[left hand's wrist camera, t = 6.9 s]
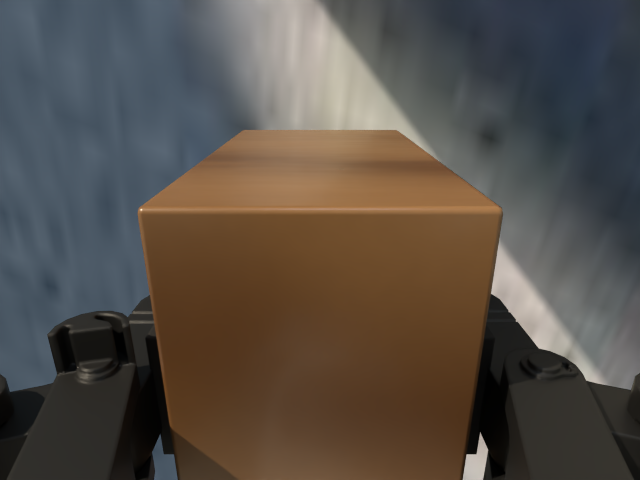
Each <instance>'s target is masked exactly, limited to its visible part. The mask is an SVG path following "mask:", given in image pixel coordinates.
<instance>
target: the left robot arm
mask: <svg viewBox="0 0 640 480" xmlns="http://www.w3.org/2000/svg"><path fill="white" fill-rule="evenodd" d="M47 335H48V339H49V343H50V347H51V351H52V355H53V359H54V363H55V367H56V371H57V376H56V378H55V380H54V382H53V383H51V384H48V385H44V386H39V387H34V388H28V389H23V390H18V391H13V392H10V391H9V388H8V384H7V381H6V378H4V377H3V376H2V375H0V480H154V475H155V468H154V461H153V455H152V451H153V449H154V446H155V444H156V442H157V440H158V437H159V435H160V433H161V439H162V446H163V452H164V454H174V450H173V444H172V437H171V430H170V424H169V417H168V411H167V404H166V397H165V391H164V384H163V378H162V371H161V364H160V358H159V351H158V345H157V338H156V331H155V325H154V318H153V312H152V305H151V298H150V295H149V296H148V297H146V298H144V299H143V300H141V301H140V303H139V304H138V305H137V306H136V308H135V309H134V310H133V312H132V314H130V315H129V317H127V316H125V315H124V314H123V313H119V312H114V311H96V312H91V313H85V314H81V315H78V316H76V317H73V318H70V319H67V320H65V321H64V322H62V323H60V324H59V325H57V326H55V327H54V328H53V329H52V330H51V331H50V332H49V333H48V334H47ZM480 432H481V434H482V437H483V439H484V441H485V443H486V446H487V448H488V455H487V461H486V467H485V473H484V478H483V480H640V373H639V374H638V375H637V376H635V379H634V382H633V386H632V389H631V390H627V389H622V388H617V387H612V386H607V385H602V384H597V383H593V382H589V381H586V380H585V378H584V375H583V374H582V372H581V371H580V370H579V369H578V367H577V366H576V365H575V364H573V363H572V362H570V361H569V360H568V359H566V358H565V357H563V356H560V355H558V354H555V353H553V352H551V351H547V350H542V349H539V348H538V347H537V346H536V345H535V343H534V342H533V341H532V340H531V338H530V337H529V336H528V334H527V333H526V332H525V331H524V329H523V328H522V327H521V326H520V324H519V323H518V322H516V319H515V318H514V317H513V316H512V314H511V313H510V312H508V309H507V308H506V307H505V305H504V304H503V303H502V302H501V300H500V299H498V298H497V297H495V296H494V295H492V294H491V296H490V302H489V309H488V315H487V322H486V329H485V335H484V342H483V348H482V355H481V361H480V368H479V375H478V381H477V388H476V394H475V401H474V407H473V414H472V421H471V427H470V434H469V440H468V447H467V453H466V454H477V447H478V441H479V435H480Z"/></svg>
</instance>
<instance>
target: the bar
mask: <svg viewBox="0 0 640 480" xmlns="http://www.w3.org/2000/svg"><path fill="white" fill-rule="evenodd" d="M502 217H503V211H502V208H501V207H500V206H499V205H497V204H496V203H494V202H493V201H492V200H490V199H489V198H488V197H486V196H485V195H484V194H482V193H481V192H480V191H478V190H477V189H476V188H474V187H473V186H472V185H470V184H469V183H467V182H466V181H465V180H463V179H462V178H461V177H459V176H458V175H457V174H455V173H454V172H453V171H451V170H450V169H449V168H447V167H446V166H445V165H443V164H442V163H440V162H439V161H438V160H436V159H435V158H434V157H432V156H431V155H430V154H428V153H427V152H426V151H424V150H423V149H422V148H420V147H419V146H418V145H416V144H415V143H414V142H412V141H411V140H409V139H408V138H407V137H405V136H404V135H403V134H401V133H400V132H399V131H397V130H244V131H242V132H240V133H239V134H238V135H236V136H235V137H234V138H232V139H231V140H229V141H228V142H227V143H225V144H224V145H223V146H221V147H220V148H219V149H217V150H216V151H215V152H213V153H212V154H211V155H209V156H208V157H207V158H205V159H204V160H203V161H201V162H200V163H199V164H197V165H196V166H195V167H193V168H192V169H190V170H189V171H188V172H186V173H185V174H184V175H182V176H181V177H180V178H178V179H177V180H176V181H174V182H173V183H172V184H170V185H169V186H168V187H166V188H165V189H164V190H162V191H161V192H160V193H158V194H157V195H156V196H154V197H153V198H151V199H150V200H149V201H147V202H146V203H145V204H143V205H142V206H141V207H139V210H138V219H139V226H140V232H141V239H142V246H143V252H144V259H145V265H146V272H147V279H148V285H149V292H150V298H151V305H152V312H153V318H154V325H155V331H156V338H157V345H158V351H159V358H160V364H161V371H162V378H163V384H164V391H165V397H166V404H167V411H168V417H169V424H170V430H171V437H172V444H173V450H174V457H175V463H176V470H177V477H178V480H463V473H464V467H465V460H466V453H467V447H468V440H469V434H470V427H471V421H472V414H473V407H474V401H475V394H476V388H477V381H478V375H479V368H480V361H481V355H482V348H483V342H484V335H485V329H486V322H487V315H488V309H489V302H490V296H491V289H492V283H493V276H494V269H495V263H496V256H497V250H498V243H499V236H500V230H501V223H502Z"/></svg>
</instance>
